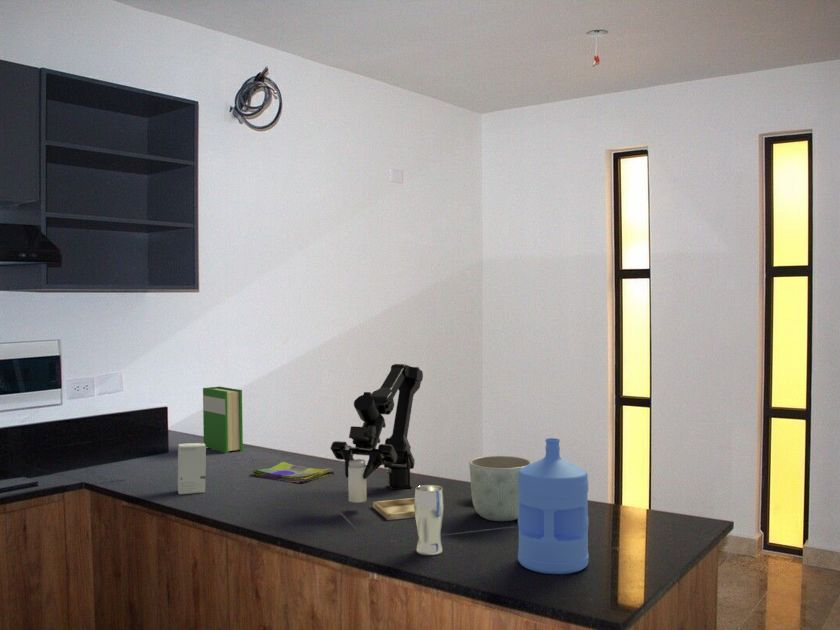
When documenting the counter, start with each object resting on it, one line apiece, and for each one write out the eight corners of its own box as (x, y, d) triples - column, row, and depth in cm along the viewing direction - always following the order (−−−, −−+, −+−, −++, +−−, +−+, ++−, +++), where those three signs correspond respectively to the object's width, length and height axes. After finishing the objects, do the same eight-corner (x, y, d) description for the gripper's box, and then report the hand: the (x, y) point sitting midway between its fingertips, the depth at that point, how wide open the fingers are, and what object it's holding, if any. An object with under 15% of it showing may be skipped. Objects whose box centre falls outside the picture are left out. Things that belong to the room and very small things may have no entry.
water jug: (524, 549, 190) (523, 432, 189) (591, 555, 186) (591, 435, 185) (512, 571, 175) (511, 444, 175) (585, 578, 171) (585, 447, 170)
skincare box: (178, 495, 246) (177, 446, 245) (177, 490, 251) (176, 443, 251) (206, 492, 248) (206, 444, 248) (205, 488, 254) (204, 441, 254)
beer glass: (413, 547, 193) (413, 485, 193) (442, 546, 194) (441, 484, 193) (415, 556, 186) (415, 492, 186) (445, 555, 187) (445, 491, 186)
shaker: (363, 497, 227) (363, 458, 227) (368, 501, 223) (368, 462, 222) (346, 498, 226) (346, 460, 225) (351, 503, 221) (350, 463, 220)
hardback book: (242, 451, 315) (241, 389, 314) (225, 453, 310) (224, 391, 309) (220, 445, 328) (219, 386, 327) (203, 447, 323) (202, 388, 322)
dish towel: (285, 467, 286) (285, 459, 286) (337, 475, 273) (337, 467, 273) (249, 476, 272) (249, 468, 272) (302, 485, 258) (302, 477, 258)
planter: (521, 507, 228) (521, 454, 227) (540, 524, 211) (540, 467, 211) (463, 511, 225) (463, 456, 224) (478, 528, 208) (477, 469, 208)
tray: (419, 504, 232) (419, 497, 232) (436, 516, 219) (436, 509, 219) (373, 508, 228) (372, 501, 228) (387, 521, 215) (387, 514, 214)
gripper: (332, 413, 230) (315, 459, 220) (392, 416, 224) (377, 463, 214) (345, 435, 238) (328, 481, 228) (403, 439, 231) (389, 486, 221)
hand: (355, 477), depth 223 cm, fingers closed on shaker, 5 cm apart
